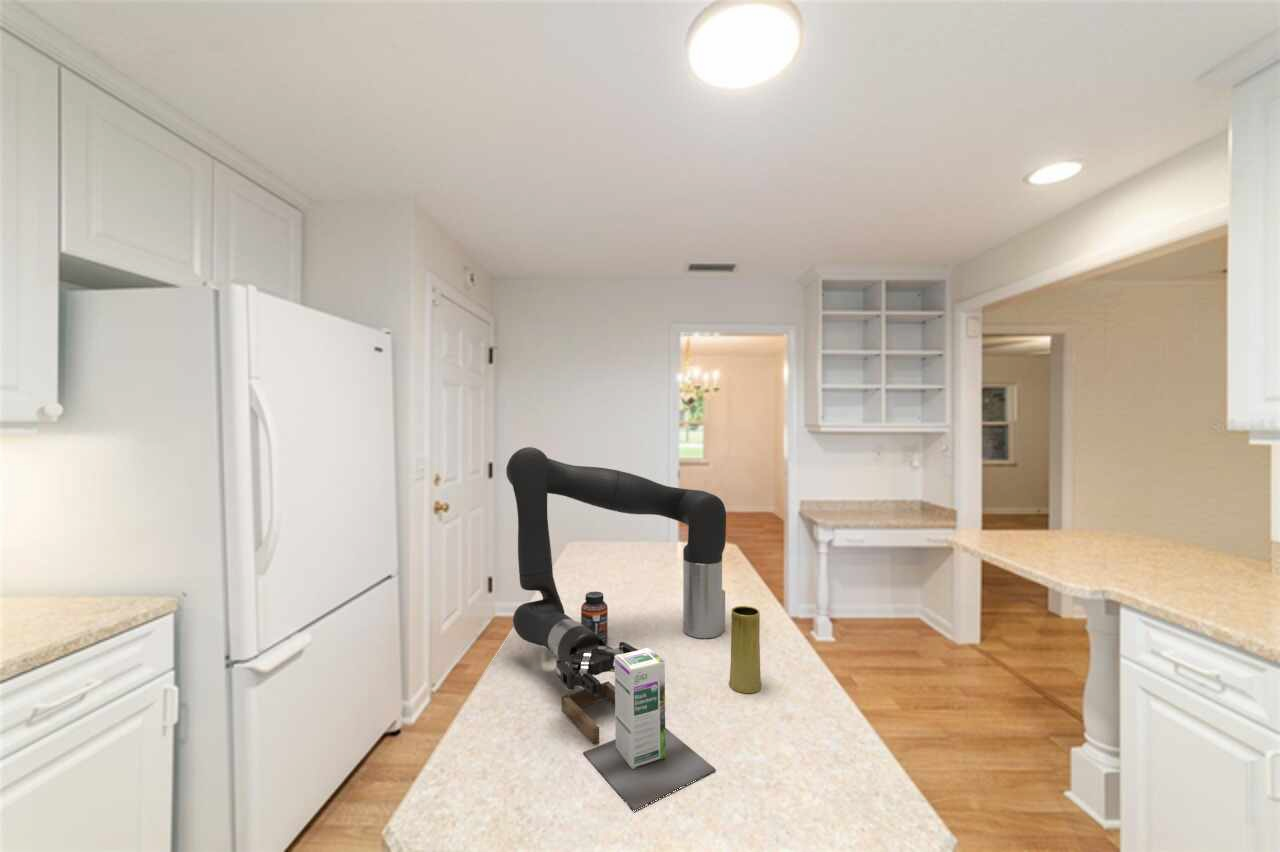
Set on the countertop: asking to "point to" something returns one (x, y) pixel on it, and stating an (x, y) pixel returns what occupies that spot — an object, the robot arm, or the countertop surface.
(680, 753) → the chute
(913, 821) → the countertop surface
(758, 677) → the vase
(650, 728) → the syrup box
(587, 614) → the supplement bottle
